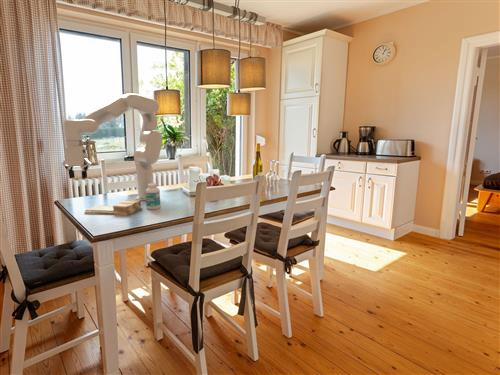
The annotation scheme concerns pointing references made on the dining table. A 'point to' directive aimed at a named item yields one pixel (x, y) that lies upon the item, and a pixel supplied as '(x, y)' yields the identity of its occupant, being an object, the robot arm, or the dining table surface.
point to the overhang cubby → (121, 208)
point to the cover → (101, 208)
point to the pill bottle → (152, 197)
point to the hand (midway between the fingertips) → (78, 177)
